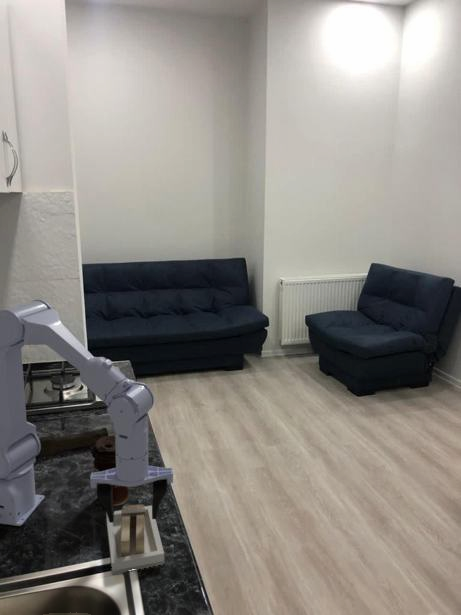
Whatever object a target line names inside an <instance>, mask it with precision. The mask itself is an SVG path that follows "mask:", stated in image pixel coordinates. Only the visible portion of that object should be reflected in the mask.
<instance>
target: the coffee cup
mask: <svg viewBox="0 0 461 615" xmlns="http://www.w3.org/2000/svg"><path fill="white" fill-rule="evenodd" d="M90 455H92V458H93V468H94V473H95V472H101V471H105V470H109V469H113V468H116V447H115V434H114V435H109V436H107V437H102V438H100V439H99V440H98V441H97V442H96V444H95V445H93V447H92V448H91V450H90ZM130 489H131V488H130V487H126V486H119V485H112V493H113V506H114V507H118V506H122V505H123V504H125V503H126V502H127V501H128V500H129V497H130Z"/></svg>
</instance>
